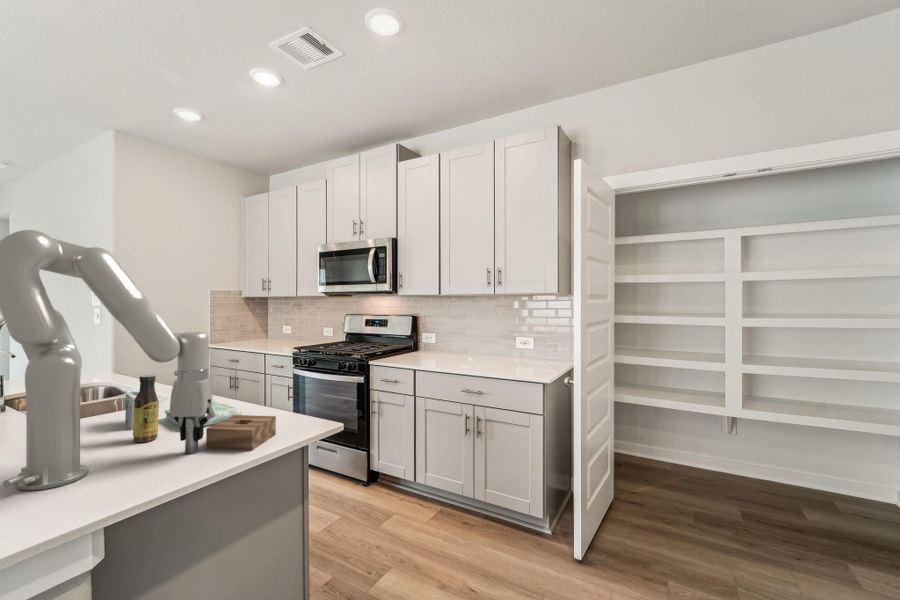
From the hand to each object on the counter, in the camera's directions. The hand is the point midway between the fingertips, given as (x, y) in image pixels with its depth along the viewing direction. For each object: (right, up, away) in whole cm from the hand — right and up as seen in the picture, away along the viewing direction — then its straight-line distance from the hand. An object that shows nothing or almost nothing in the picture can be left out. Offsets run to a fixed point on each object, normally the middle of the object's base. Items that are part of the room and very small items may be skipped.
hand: (191, 438), depth 120 cm
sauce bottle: (-20, -4, +10) cm, 23 cm away
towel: (-16, -4, +31) cm, 35 cm away
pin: (0, -4, 0) cm, 4 cm away
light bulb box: (-33, -4, +25) cm, 41 cm away
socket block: (+10, -4, +9) cm, 14 cm away
